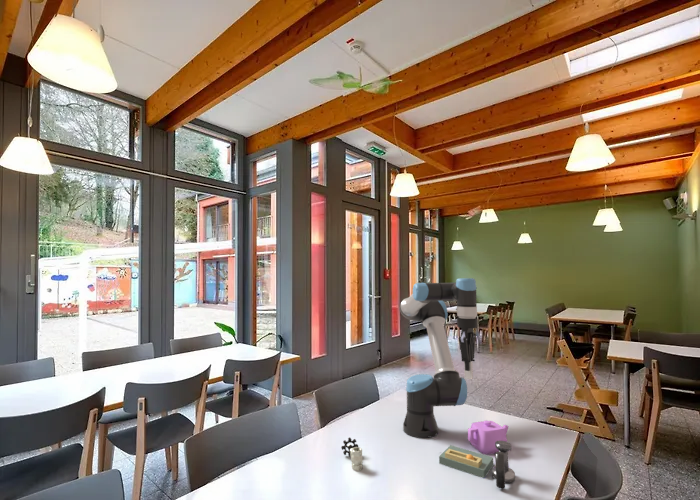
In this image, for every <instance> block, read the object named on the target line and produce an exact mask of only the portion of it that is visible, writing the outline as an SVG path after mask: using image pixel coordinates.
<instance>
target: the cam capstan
mask: <svg viewBox="0 0 700 500" xmlns="http://www.w3.org/2000/svg"><path fill="white" fill-rule="evenodd" d="M495 447H496V448H497V449H498V450H499V452H495V454H494V455H495V466H492V467H491V469H492V471H491V472H492V477H493V478H494V479H495V485H496V487H497V488H499V489H502V490H503V489H505V488H506V483H508V484H510V483H513V482H515V480H516V472H515V471H514V470H513V469H512V468H511V467H509V466H510V465H509V451H511V450H512V445H511V443H510V442H509V441H507V442H506V441H496V442H495Z"/></svg>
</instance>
